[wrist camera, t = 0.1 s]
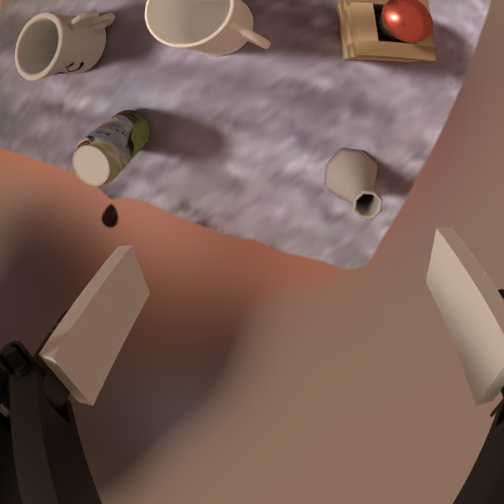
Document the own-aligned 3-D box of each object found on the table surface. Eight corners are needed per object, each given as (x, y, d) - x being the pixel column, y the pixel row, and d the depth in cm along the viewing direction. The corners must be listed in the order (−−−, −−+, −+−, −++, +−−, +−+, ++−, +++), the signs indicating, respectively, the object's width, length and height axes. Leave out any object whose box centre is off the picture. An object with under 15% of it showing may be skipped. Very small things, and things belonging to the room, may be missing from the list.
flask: (336, 138, 35) (351, 159, 27) (386, 161, 36) (412, 189, 28) (315, 187, 39) (321, 222, 31) (362, 207, 40) (380, 245, 32)
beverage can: (140, 100, 35) (89, 115, 25) (164, 146, 38) (122, 175, 28) (107, 122, 37) (53, 145, 27) (130, 165, 40) (83, 199, 30)
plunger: (362, 7, 22) (381, -8, 16) (402, 11, 21) (428, -1, 15) (368, 45, 24) (388, 39, 18) (407, 48, 23) (435, 44, 17)
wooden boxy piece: (336, 7, 26) (349, -12, 19) (400, 11, 25) (429, -2, 17) (343, 59, 30) (359, 55, 22) (406, 62, 28) (437, 61, 21)
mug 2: (290, 30, 29) (291, 10, 19) (248, 82, 33) (230, 86, 23) (210, -15, 26) (177, -46, 16) (171, 37, 30) (125, 27, 20)
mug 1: (69, 84, 34) (23, 94, 26) (54, 37, 29) (8, 39, 21) (136, 44, 31) (93, 41, 22) (119, -7, 26) (76, -20, 18)
